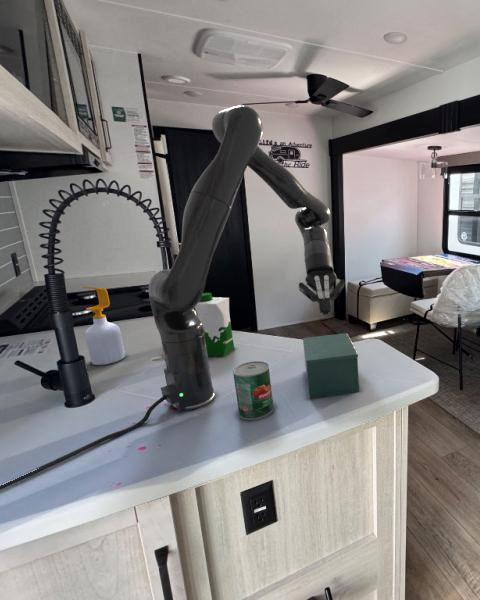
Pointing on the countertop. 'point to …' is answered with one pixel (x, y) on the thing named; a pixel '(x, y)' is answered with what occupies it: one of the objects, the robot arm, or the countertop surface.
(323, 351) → the case lid
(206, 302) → the milk carton
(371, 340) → the countertop surface
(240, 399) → the canned tomato
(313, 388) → the case
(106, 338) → the spray bottle
